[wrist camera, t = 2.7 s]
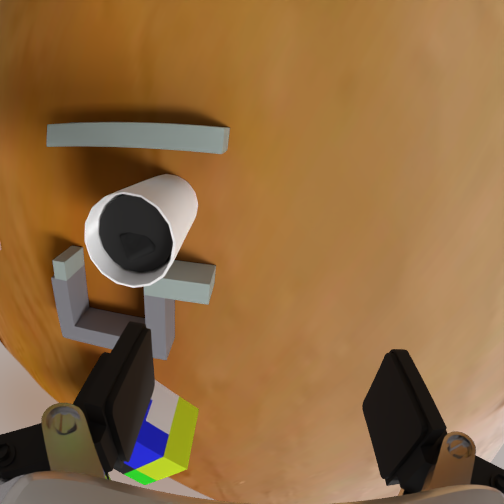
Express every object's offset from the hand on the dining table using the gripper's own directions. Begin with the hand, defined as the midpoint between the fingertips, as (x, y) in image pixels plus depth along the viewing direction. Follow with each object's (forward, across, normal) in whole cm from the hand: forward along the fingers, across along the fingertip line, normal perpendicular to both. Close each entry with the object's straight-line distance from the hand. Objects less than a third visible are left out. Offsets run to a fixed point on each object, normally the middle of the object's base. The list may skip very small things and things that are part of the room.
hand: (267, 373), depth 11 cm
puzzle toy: (+20, +12, +28) cm, 37 cm away
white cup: (+20, +9, 0) cm, 22 cm away
